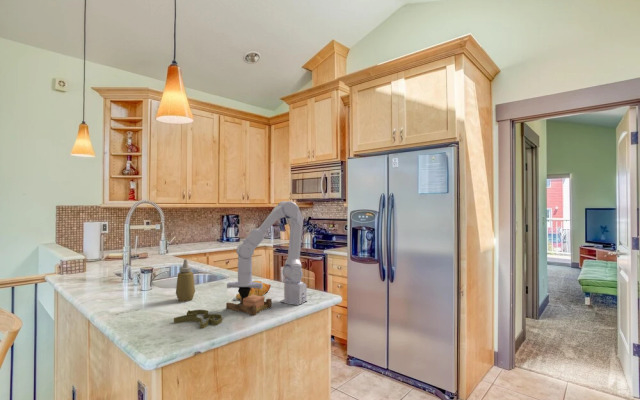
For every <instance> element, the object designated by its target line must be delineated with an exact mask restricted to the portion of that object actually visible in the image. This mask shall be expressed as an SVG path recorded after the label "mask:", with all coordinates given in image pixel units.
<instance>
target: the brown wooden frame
mask: <svg viewBox="0 0 640 400" xmlns="http://www.w3.org/2000/svg"><path fill="white" fill-rule="evenodd" d="M225 306H226V308H225V309H226V310H229V311H236V312H240V313H244V314H249V315H250V316H252V315H253V316H257V314H258V313H260V311H261V312H263V311H265V310H267V309H268V308H270V307H272V298H267V299H265V300H264V305H263V306H261V307H258V308H256V305H252V306H250V307H249V306H244V305H243V301H242V298H240V299H239V303H234V302H226V304H225ZM266 308H267V309H266ZM264 309H265V310H264ZM270 309H271V308H270ZM262 310H263V311H262Z"/></svg>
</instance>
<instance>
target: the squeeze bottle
mask: <svg viewBox="0 0 640 400" xmlns="http://www.w3.org/2000/svg"><path fill="white" fill-rule="evenodd" d="M176 278H177V280H176V287H175V290H176V291H175V295H176V298H177V301H178V302H190V301H192V300H193V298H194V295H195V293H196V289H195V280H194V279H195V277H194V272H193V271H192V267H191V266H189V262H188V258H187V259H183V263H182V267H180V268H179V272H178V273H177V277H176Z"/></svg>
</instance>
